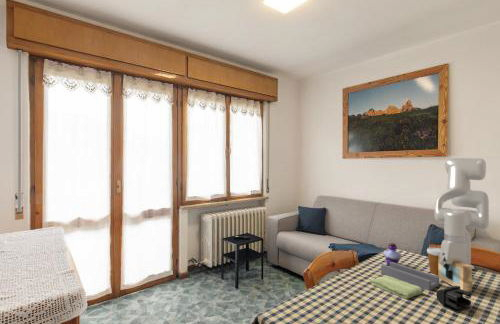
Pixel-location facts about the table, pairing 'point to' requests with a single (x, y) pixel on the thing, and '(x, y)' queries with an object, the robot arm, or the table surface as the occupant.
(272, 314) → the table surface
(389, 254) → the potion bottle
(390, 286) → the washcloth
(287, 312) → the table surface
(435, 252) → the disposable coffee cup
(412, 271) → the picture stand
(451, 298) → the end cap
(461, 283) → the wooden picture frame
